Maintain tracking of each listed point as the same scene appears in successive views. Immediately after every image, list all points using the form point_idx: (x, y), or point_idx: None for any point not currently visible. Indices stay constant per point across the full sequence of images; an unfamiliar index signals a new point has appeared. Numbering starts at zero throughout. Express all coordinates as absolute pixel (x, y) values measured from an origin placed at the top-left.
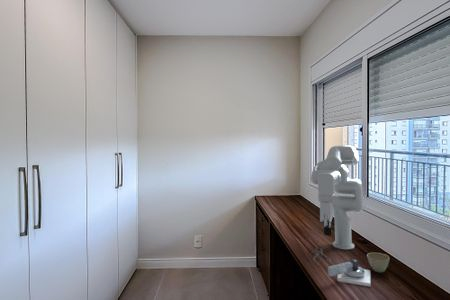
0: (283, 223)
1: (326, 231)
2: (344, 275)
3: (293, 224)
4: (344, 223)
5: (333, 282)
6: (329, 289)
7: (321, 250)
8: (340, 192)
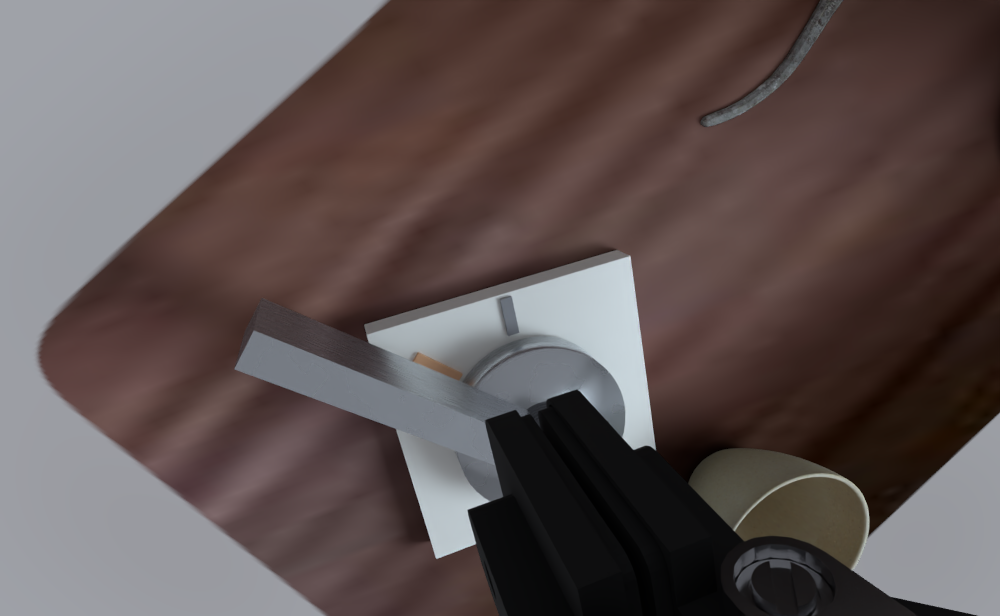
0: None
1: (493, 572)
2: (448, 367)
3: None
4: None
5: (313, 305)
6: (150, 331)
7: None
8: None
